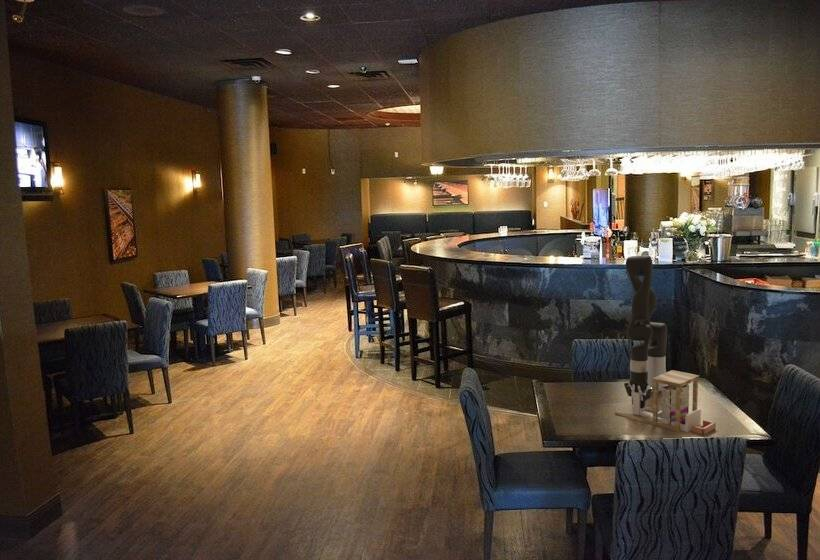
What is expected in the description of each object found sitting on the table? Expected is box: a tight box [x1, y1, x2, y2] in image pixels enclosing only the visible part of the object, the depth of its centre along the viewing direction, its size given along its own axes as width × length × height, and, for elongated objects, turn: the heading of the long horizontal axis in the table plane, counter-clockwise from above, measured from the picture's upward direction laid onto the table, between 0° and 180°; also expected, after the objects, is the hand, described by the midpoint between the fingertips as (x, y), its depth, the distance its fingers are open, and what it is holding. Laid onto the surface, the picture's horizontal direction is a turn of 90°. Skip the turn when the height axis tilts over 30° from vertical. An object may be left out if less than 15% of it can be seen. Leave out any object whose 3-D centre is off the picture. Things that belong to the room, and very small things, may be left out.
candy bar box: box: [661, 384, 690, 425], centre depth 285 cm, size 11×5×16 cm, turn 118°
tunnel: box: [614, 369, 700, 432], centre depth 292 cm, size 16×30×20 cm, turn 40°
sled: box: [632, 392, 702, 433], centre depth 289 cm, size 11×27×10 cm, turn 40°
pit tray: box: [691, 419, 717, 437], centre depth 277 cm, size 10×5×3 cm, turn 130°
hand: (638, 406), depth 299 cm, fingers open, 3 cm apart
